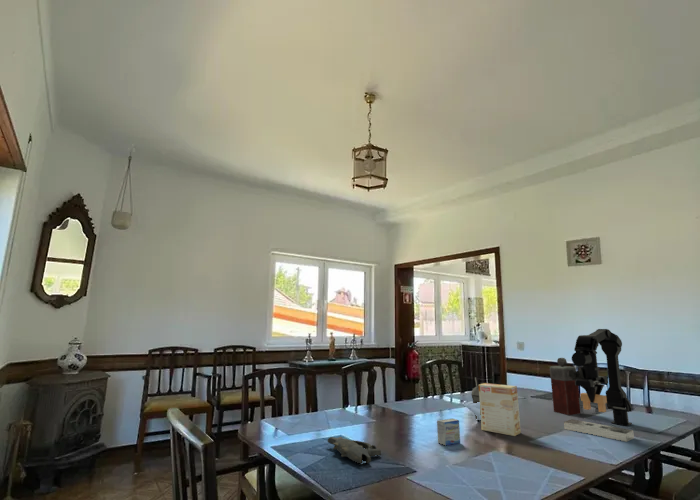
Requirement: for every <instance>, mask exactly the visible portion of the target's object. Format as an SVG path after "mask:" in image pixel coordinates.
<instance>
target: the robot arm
mask: <svg viewBox="0 0 700 500" xmlns="http://www.w3.org/2000/svg"><path fill="white" fill-rule="evenodd" d="M599 346H600V347H601V350H602V352H603V353H604V355H605V357H606V366H607V368H606V369H607V375H608V376H607V377H606V376H602V375H599V371H600V367H599V366H598V358H597V354H598V352H597V349H598V347H599ZM622 348H623V342H622V339H621V338H620V337H619V336H618V335H617V334H616V333H613V332H611V330H610V329H608V328H598V329H596V330H595V331H593V332H591V333H589V334H586V335H585V334H584V335H582V334H581V335H578V337H576V341H575V345H574V351H575V352H574V353H572V355H571V361H572V363H573V364H574V365H575V366H577V367H580V369H579V370H576V371H575V370H570V371H569V373H568V374H569V377H571V379H572V380H575V385H576V386H579V387H581V388H583V390H585V393H587V395H588V397H589V400H590V403H593V402H594V399H595V395H596V394H597V395H602V394H601V393H602V391H603V388H604V387H605V384H608V386H609V387H608V388H607V390H605V396H606V398H607V403H605V405H606V408H607V410H612V416H613V420H612V421H610V423H611V424H614V425H618V426H619V425H620V426H625V427H628V426H630V425H632V423H633V422H629V415H628V413H630V412H633V407H632V403H631V402H630V400H629V399H628V397H627V393H626V391H625V390H624V388H622V381H621V379H622V378H621V371H620V370H621V369H620V364H619V363H620V361H619V355H620V353H621V351H622ZM602 383H603V384H602Z"/></svg>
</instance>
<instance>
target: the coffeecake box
mask: <svg viewBox="0 0 700 500" xmlns="http://www.w3.org/2000/svg"><path fill="white" fill-rule="evenodd" d="M478 387H479V400H480V415H481V421H480V427H481V431H486V432H492V433H497V434H502V435H507V436H512V437H516V436H517V435H520V434H521V433H522V431H521V430H522V429H521V419H520V408H519V407H520V406H519V395H518V386H517V385H508V384H497V383H489V382H483V383H480V384H478Z"/></svg>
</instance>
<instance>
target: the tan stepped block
mask: <svg viewBox="0 0 700 500" xmlns="http://www.w3.org/2000/svg"><path fill="white" fill-rule="evenodd" d="M579 395H580V401H581V402H582V406H583V410H587V411H590V410H592V406H591V402H590V400H589V397H588V395H587V393H586V392H581V393H579ZM593 403H595V404H597V408H598V413H607V404H606V403H607V398H606V394H605V395H604V394H600V395H597V394H596V395H595V399H594V402H593Z"/></svg>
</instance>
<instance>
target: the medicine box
mask: <svg viewBox="0 0 700 500" xmlns="http://www.w3.org/2000/svg"><path fill="white" fill-rule="evenodd" d="M436 423H437V425H436V427H437V443H438V444H439V443H440V444H439V445H442V444H443V445H442V446H444V445H445V446H444V447H447V446H446V445H448V446H452V445H451V444H453V445H457V443H458V444H460V443H461V432H460V431H461V430H460V429H461V427H460V420H458V419H456V418H447V419H439V420H437V421H436Z"/></svg>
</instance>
